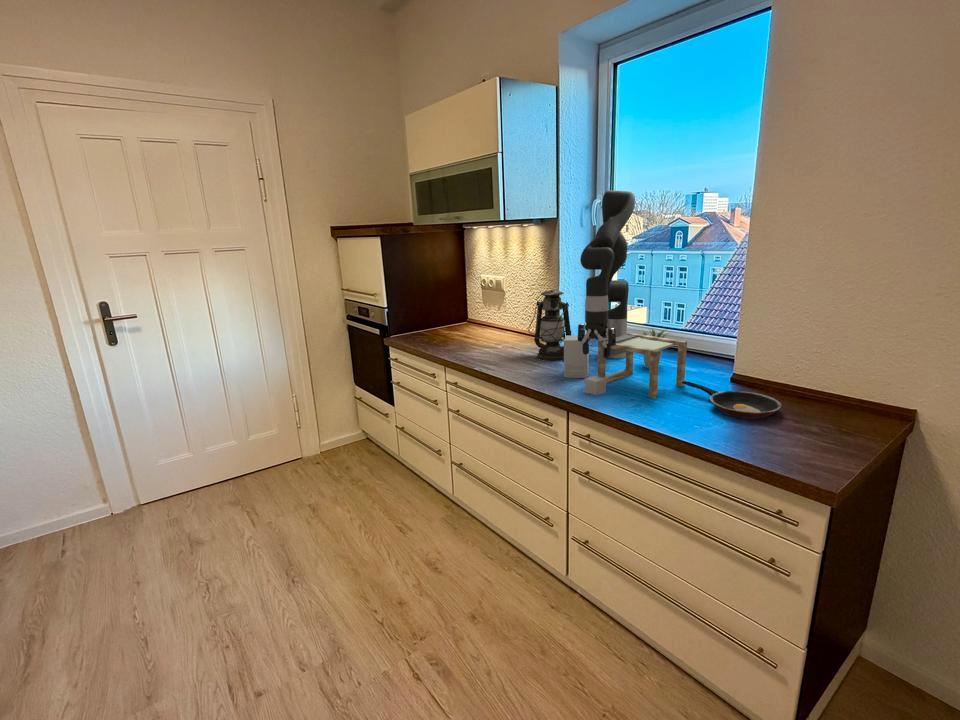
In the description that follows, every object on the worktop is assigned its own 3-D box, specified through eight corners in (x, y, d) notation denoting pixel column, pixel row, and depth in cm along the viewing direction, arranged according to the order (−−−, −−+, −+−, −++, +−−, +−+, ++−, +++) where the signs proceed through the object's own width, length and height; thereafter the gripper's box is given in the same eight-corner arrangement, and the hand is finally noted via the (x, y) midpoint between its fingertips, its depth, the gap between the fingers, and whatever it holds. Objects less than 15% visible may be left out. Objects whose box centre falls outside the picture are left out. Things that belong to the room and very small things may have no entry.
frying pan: (753, 427, 132) (754, 415, 131) (662, 396, 160) (662, 385, 159) (794, 413, 140) (795, 401, 140) (701, 386, 168) (701, 375, 167)
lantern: (579, 355, 215) (579, 289, 208) (559, 366, 201) (558, 294, 193) (542, 351, 226) (541, 287, 219) (521, 360, 212) (519, 293, 204)
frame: (597, 384, 175) (598, 341, 171) (628, 372, 187) (629, 332, 182) (653, 398, 158) (656, 351, 154) (684, 385, 169) (687, 341, 165)
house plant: (677, 364, 195) (679, 324, 190) (669, 373, 184) (671, 331, 179) (641, 360, 202) (643, 322, 198) (632, 369, 191) (633, 329, 187)
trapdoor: (604, 354, 173) (604, 340, 172) (627, 347, 182) (628, 334, 180) (651, 363, 159) (651, 348, 157) (674, 355, 167) (675, 341, 166)
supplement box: (588, 371, 191) (589, 335, 187) (587, 378, 182) (588, 340, 178) (565, 371, 193) (565, 334, 189) (563, 377, 185) (563, 339, 181)
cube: (584, 392, 167) (585, 378, 166) (594, 389, 170) (594, 375, 169) (596, 395, 164) (596, 381, 162) (605, 392, 167) (605, 378, 165)
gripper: (621, 309, 156) (620, 357, 160) (587, 305, 167) (586, 350, 171) (607, 312, 152) (606, 361, 156) (572, 308, 163) (572, 354, 167)
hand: (595, 355), depth 164 cm, fingers open, 8 cm apart
